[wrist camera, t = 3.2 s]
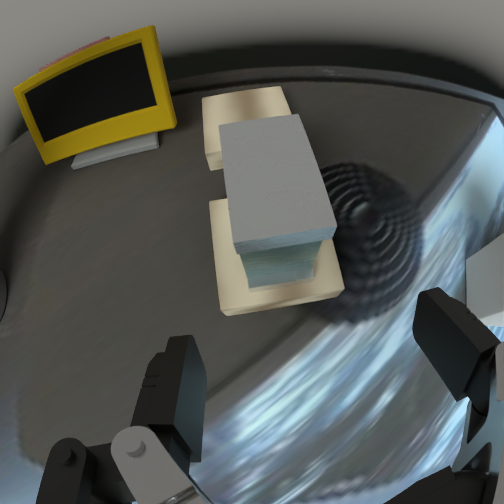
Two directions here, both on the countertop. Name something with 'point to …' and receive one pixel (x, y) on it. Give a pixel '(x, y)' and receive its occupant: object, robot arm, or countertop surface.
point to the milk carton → (487, 283)
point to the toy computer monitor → (99, 100)
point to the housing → (274, 200)
